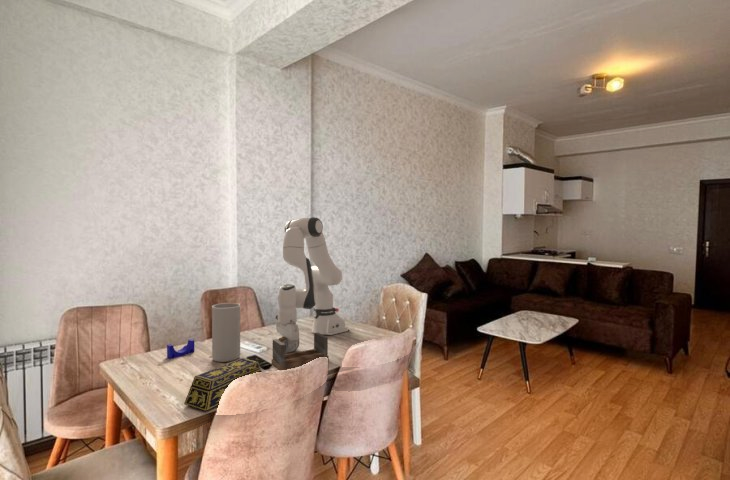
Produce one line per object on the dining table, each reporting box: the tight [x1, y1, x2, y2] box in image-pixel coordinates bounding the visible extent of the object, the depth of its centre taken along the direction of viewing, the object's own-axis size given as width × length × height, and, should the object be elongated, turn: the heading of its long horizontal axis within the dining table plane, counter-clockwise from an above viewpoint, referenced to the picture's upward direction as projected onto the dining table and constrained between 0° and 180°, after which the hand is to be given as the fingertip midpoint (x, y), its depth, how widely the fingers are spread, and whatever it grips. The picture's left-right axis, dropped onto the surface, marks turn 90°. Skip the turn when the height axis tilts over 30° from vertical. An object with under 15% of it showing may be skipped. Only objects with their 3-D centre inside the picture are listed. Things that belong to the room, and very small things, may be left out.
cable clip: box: [166, 338, 195, 360], centre depth 189 cm, size 12×4×6 cm, turn 144°
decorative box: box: [184, 357, 263, 412], centre depth 147 cm, size 11×30×9 cm, turn 152°
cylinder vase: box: [211, 302, 241, 363], centre depth 183 cm, size 12×12×25 cm
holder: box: [271, 332, 330, 371], centre depth 179 cm, size 24×10×11 cm, turn 124°
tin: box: [277, 336, 300, 354], centre depth 192 cm, size 15×3×8 cm, turn 145°
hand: (287, 345), depth 192 cm, fingers closed on tin, 3 cm apart
